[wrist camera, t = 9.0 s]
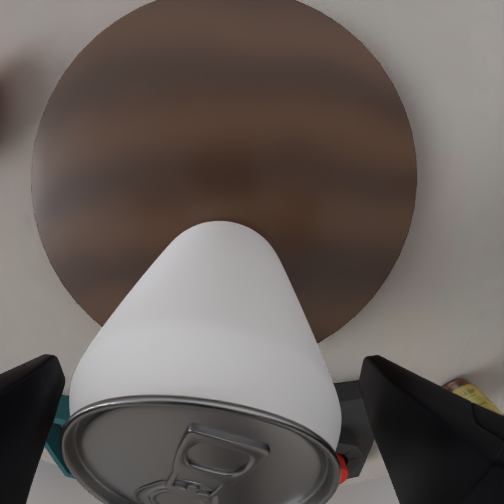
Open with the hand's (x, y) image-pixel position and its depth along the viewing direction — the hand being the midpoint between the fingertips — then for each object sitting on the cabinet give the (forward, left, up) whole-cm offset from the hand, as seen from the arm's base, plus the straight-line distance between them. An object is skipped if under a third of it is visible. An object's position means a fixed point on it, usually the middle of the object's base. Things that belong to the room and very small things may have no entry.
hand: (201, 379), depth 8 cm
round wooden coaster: (+5, 0, -11) cm, 12 cm away
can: (0, 0, -9) cm, 9 cm away
